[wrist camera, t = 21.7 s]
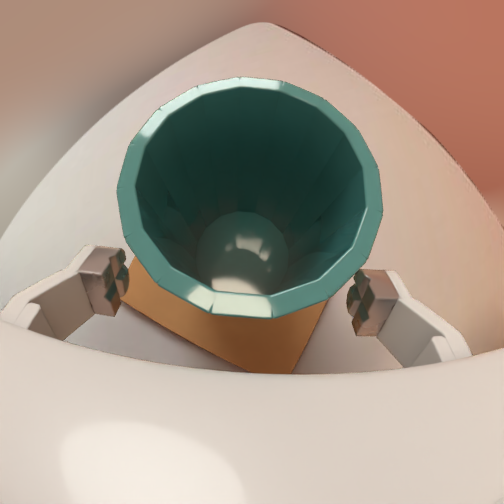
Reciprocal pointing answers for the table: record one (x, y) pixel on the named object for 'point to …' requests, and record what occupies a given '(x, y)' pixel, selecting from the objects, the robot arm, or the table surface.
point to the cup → (250, 198)
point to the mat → (226, 327)
